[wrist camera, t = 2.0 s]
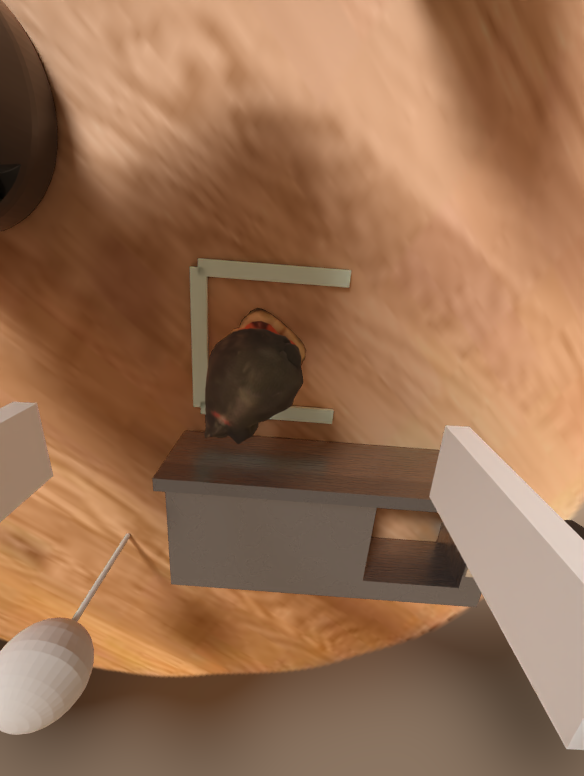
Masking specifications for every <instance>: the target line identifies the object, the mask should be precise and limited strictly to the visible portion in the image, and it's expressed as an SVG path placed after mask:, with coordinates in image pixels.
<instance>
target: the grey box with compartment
mask: <svg viewBox="0 0 584 776" xmlns="http://www.w3.org/2000/svg"><path fill="white" fill-rule="evenodd" d="M204 433H205V432H195V431H184V433H183V434H182V436H181V437H180V439H179V440H178V442H177V443H176V445H175V446H174V448H173V449H172V451H171V452H170V453H169V455H168V456H167V458H166V459H165V461H164V462H163V464H162V465H161V467H160V468H159V470H158V471H157V473H156V474H155V476H154V477H153V491H163V492H165V494H166V509H167V525H168V541H169V557H170V572H171V584H175V585H188V586H202V587H215V588H228V589H242V590H255V591H268V592H281V593H295V594H308V595H321V596H335V597H348V598H361V599H375V600H388V601H401V602H415V603H428V604H441V605H454V606H468V607H477V604H478V602H479V599H480V596H481V591H480V589H479V587H478V585H477V584H476V582H475V580H474V578H473V576H472V574H471V573H470V571H469V569H468V567H467V565H466V563H465V562H464V560H463V558H462V556H461V554H460V552H459V550H458V549H457V547H456V545H455V543H454V541H453V539H452V538H451V536H450V534H449V532H448V530H447V528H446V527H445V525H444V523H443V521H442V524H441V528H440V532H439V535H438V539H437V542H427V541H414V540H401V539H388V538H374V537H371V535H372V530H373V525H374V519H375V514H376V509H377V508H386V509H400V510H413V511H426V512H437V510H436V508H435V506H434V504H433V503H432V501H431V499H430V497H429V496H430V491H431V487H432V482H433V478H434V473H435V469H436V465H437V460H438V456H439V451H440V450H431V449H418V448H405V447H392V446H378V445H365V444H352V443H339V442H326V441H313V440H300V439H287V438H274V437H261V436H252V437H250V438H248V439H247V440H245V441H243V442H242V443H240V444H237V443H236V442H235V441H234V440H233V439H232V438H231V437H230V436H227V437H225V438H221V439H220V438H217V437H209V438H205V436H204Z"/></svg>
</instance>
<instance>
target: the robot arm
mask: <svg viewBox="0 0 584 776" xmlns="http://www.w3.org/2000/svg"><path fill="white" fill-rule="evenodd" d="M57 139H58V135H57V120H56V112H55V106H54V101H53V97H52V93H51V89H50V86H49V82H48V79H47V77H46V74H45V71H44V69H43V66H42V64H41V61H40V59H39V57H38V55H37V53H36V51H35V49H34V47H33V45H32V43H31V41H30V39H29V38H28V36H27V34H26V33H25V31H24V29H23V28H22V26H21V25H20V23H19V22H18V21H17V19H16V18H15V16H14V15H13V14H12V12H11V11H10V10H9V9H8V7H7V6H6V5H5V4H4V3H3V2H2V0H0V231H3V230H6V229H8V228H10V227H12V226H14V225H16V224H18V223H19V222H20V221H22V220H23V219H24V218H26V217H27V216H28V215H29V214H30V213H31V212H32V211H33V210H34V209H35V207H36V206H37V205H38V204H39V202H40V201H41V199H42V198H43V196H44V194H45V192H46V190H47V188H48V186H49V183H50V181H51V178H52V175H53V171H54V167H55V161H56V155H57ZM52 476H53V472H52V468H51V463H50V459H49V454H48V450H47V446H46V441H45V437H44V432H43V428H42V423H41V419H40V414H39V410H38V405H37V403H27V402H12V403H10V404H8V405H6V406H4V407H2V408H0V522H1V521H2V520H3V519H5V518H6V517H7V516H8V515H9V514H10V513H11V512H13V511H14V510H15V509H16V508H17V507H18V506H19V505H21V504H22V503H23V502H24V501H25V500H26V499H27V498H29V497H30V496H31V495H32V494H33V493H34V492H35V491H37V490H38V489H39V488H40V487H41V486H42V485H43V484H44V483H46V482H47V481H48V480H49V479H50V478H51V477H52ZM429 497H430V499H431V501H432V503H433V504H434V506H435V508H436V510H437V512H438V514H439V515H440V517H441V519H442V521H443V523H444V525H445V527H446V528H447V530H448V532H449V534H450V536H451V538H452V539H453V541H454V543H455V545H456V547H457V549H458V550H459V552H460V554H461V556H462V558H463V560H464V562H465V563H466V565H467V567H468V569H469V571H470V573H471V574H472V576H473V578H474V580H475V582H476V584H477V585H478V587H479V589H480V591H481V593H482V595H483V596H484V598H485V600H486V602H487V604H488V606H489V607H490V609H491V611H492V613H493V615H494V617H495V619H496V620H497V622H498V624H499V626H500V628H501V630H502V631H503V633H504V635H505V637H506V639H507V640H508V642H509V644H510V646H511V648H512V650H513V652H514V654H515V655H516V657H517V659H518V661H519V663H520V665H521V666H522V668H523V670H524V672H525V674H526V676H527V677H528V679H529V681H530V683H531V685H532V687H533V688H534V690H535V692H536V694H537V696H538V698H539V699H540V701H541V703H542V705H543V706H544V708H545V710H546V712H547V714H548V716H549V718H550V720H551V721H552V723H553V725H554V727H555V729H556V731H557V732H558V734H559V736H560V738H561V740H562V742H563V744H564V745H565V747H566V749H578V750H584V528H583V527H582V526H580V525H579V524H577V523H576V522H574V521H572V520H563V519H562V518H561V517H560V516H559V515H558V514H557V513H556V512H555V511H554V510H553V509H552V508H551V507H550V506H549V505H548V504H547V503H546V502H545V501H544V500H543V499H542V498H541V497H540V496H539V495H538V494H537V493H536V492H535V491H534V490H533V489H532V488H531V487H530V486H529V485H528V484H527V483H526V482H525V481H524V480H523V479H522V478H521V477H520V476H519V475H518V474H517V473H516V472H515V471H514V470H513V469H512V468H511V467H510V466H508V465H507V464H506V463H505V462H504V461H503V460H502V459H501V458H500V457H499V456H498V455H497V454H496V453H495V452H494V451H493V450H492V449H491V448H490V447H489V446H488V445H487V444H486V443H485V442H484V441H483V440H482V439H481V438H480V437H479V436H478V435H477V434H476V433H475V432H474V431H473V430H472V429H471V428H470V427H466V426H448V425H445V429H444V434H443V438H442V443H441V447H440V451H439V456H438V460H437V465H436V469H435V473H434V478H433V482H432V487H431V491H430V496H429Z"/></svg>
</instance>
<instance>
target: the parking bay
mask: <svg viewBox="0 0 584 776" xmlns="http://www.w3.org/2000/svg"><path fill="white" fill-rule="evenodd" d="M189 269H190V305H191V342H192V378H193V407H201V414H206V411H205V408H206V405H205V387H206V376H207V370H208V277H219V278H232V279H245V280H258V281H271V282H284V283H296V284H309V285H322V286H335V287H348V288H349V285H350V277H351V270H344V269H331V268H318V267H305V266H292V265H279V264H267V263H254V262H241V261H228V260H215V259H203V258H198V267H193V266H189ZM333 413H334V410H333V409H328V408H315V407H302V406H291V407H289V408H288V409H286V410H285V411H282V412H280V413H278V414H276V415H274V416H273V417H271V418H270V419H273V420H286V421H299V422H312V423H325V424H332V421H333Z"/></svg>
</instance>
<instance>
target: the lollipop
mask: <svg viewBox="0 0 584 776" xmlns="http://www.w3.org/2000/svg"><path fill="white" fill-rule="evenodd" d="M129 537H130V534H129V533H127V534H126V535H125V536H124V538H123V540H122V541H121V543H120V544H119V546H118V547H117V549H116V550H115V552H114V554H113V555H112V557H111V558H110V560H109V561H108V563H107V565H106V566H105V568H104V569H103V571H102V572H101V574H100V576H99V577H98V579H97V580H96V582H95V583H94V585H93V586H92V588H91V590H90V591H89V593H88V594H87V596H86V597H85V599H84V601H83V602H82V604H81V605H80V607H79V608H78V610H77V612H76V613H75V615H74V616H73V618H72V619H67V618H51V619H46V620H43V621H40V622H37V623H35V624H33V625H31V626H29V627H27V628H26V629H24V630H22V631H21V632H20V633H18V634H17V635H16V636H15V637H14V638H12V639H11V640H10V641H9V642H8V643H7V644H6V645H5V646H4V648H3V649H2V650H1V651H0V731H2V732H5V733H8V734H27V733H32V732H34V731H37V730H40V729H42V728H44V727H47V726H48V725H49V724H51V723H53V722H54V721H56V720H57V719H59V718H60V717H61V716H62V715H63V714H64V713H65V712H67V711H68V710H69V709H70V708H71V706H72V705H73V704H74V703H75V701H76V700H77V699H78V698H79V697H80V695H81V693H82V692H83V690H84V689H85V687H86V685H87V683H88V680H89V677H90V674H91V671H92V667H93V661H94V648H93V643H92V639H91V637H90V635H89V633H88V632H87V630H86V629H85V628H84V627H83V626H82V625H81V624H79V623H78V622H77V621H78V620H79V618H80V617H81V615H82V613H83V612H84V610H85V609H86V607H87V605H88V604H89V602H90V600H91V599H92V597H93V596H94V594H95V592H96V591H97V589H98V587H99V586H100V584H101V583H102V581H103V579H104V578H105V576H106V575H107V573H108V571H109V570H110V568H111V566H112V565H113V563H114V562H115V560H116V558H117V557H118V555H119V554H120V552H121V550H122V549H123V547H124V545H125V544H126V542H127V541H128V539H129Z"/></svg>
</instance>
